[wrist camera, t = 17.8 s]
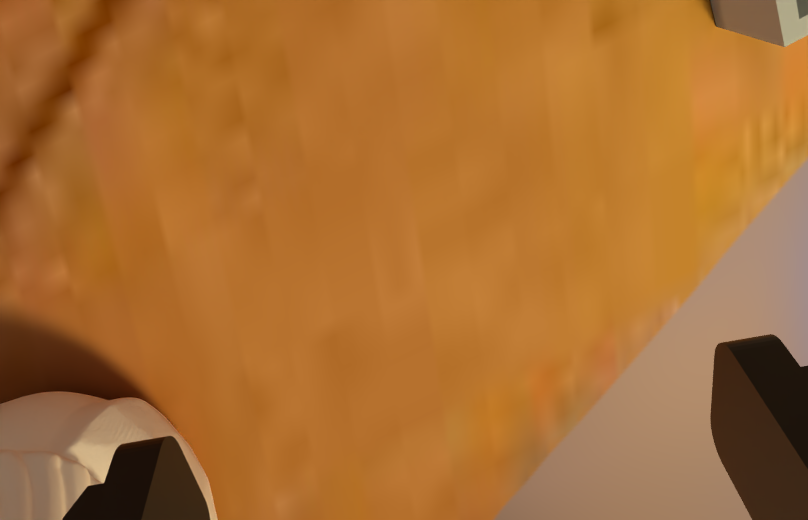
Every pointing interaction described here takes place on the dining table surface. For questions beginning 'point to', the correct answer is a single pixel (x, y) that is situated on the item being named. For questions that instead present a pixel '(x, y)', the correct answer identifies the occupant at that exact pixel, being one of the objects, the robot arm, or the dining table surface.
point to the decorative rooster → (72, 449)
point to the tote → (764, 19)
